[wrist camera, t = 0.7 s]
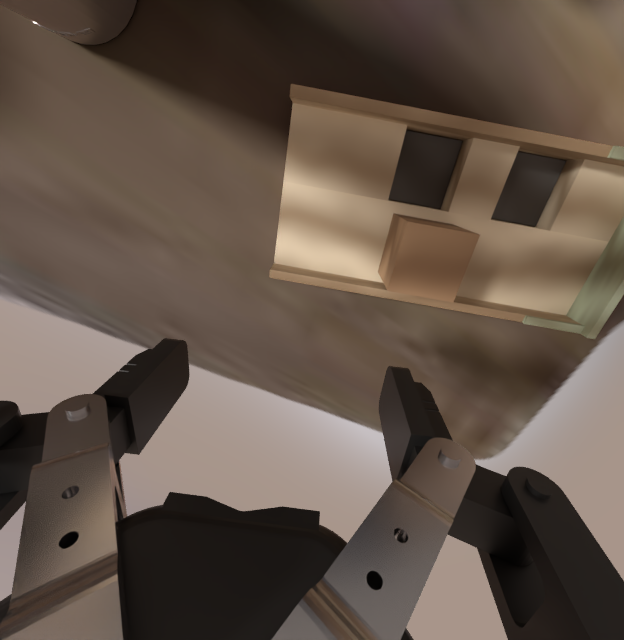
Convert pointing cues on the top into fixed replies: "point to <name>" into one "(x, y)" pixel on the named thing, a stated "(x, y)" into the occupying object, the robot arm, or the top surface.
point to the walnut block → (426, 257)
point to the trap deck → (454, 207)
